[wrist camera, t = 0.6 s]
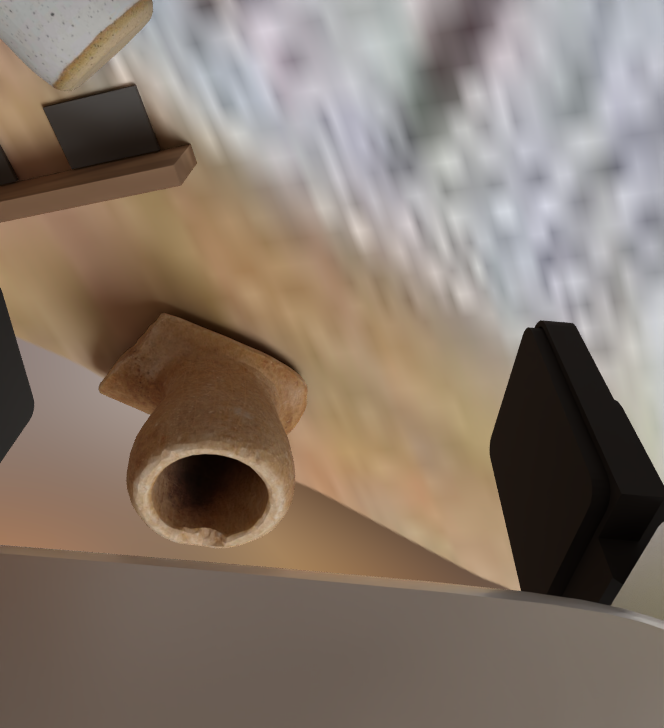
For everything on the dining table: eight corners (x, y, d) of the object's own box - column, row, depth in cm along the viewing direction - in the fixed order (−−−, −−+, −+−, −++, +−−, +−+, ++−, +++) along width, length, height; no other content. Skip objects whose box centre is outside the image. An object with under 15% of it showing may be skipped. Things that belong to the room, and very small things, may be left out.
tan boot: (339, 356, 46) (329, 508, 34) (271, 448, 53) (242, 604, 41) (156, 263, 42) (72, 398, 30) (106, 375, 49) (19, 524, 37)
